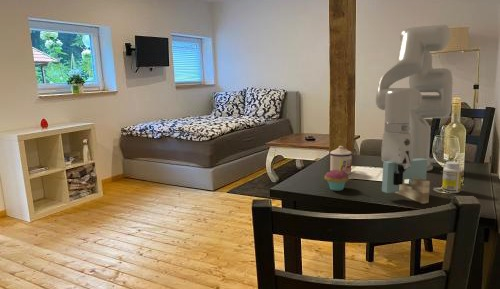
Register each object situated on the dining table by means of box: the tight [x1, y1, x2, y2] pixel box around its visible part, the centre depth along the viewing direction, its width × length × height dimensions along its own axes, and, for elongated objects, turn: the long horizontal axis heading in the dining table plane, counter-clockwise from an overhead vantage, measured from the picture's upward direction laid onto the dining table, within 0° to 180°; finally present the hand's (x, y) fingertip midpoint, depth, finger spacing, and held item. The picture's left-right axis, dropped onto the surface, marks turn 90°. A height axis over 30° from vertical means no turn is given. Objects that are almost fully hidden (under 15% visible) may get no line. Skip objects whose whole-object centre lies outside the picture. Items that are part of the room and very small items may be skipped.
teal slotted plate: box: [381, 158, 428, 194], centre depth 124 cm, size 16×2×10 cm, turn 109°
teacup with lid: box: [329, 145, 353, 176], centre depth 157 cm, size 12×9×12 cm
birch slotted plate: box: [394, 178, 431, 205], centre depth 125 cm, size 16×2×7 cm, turn 19°
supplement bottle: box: [441, 160, 462, 194], centre depth 128 cm, size 6×6×10 cm
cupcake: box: [324, 157, 349, 191], centre depth 135 cm, size 9×8×12 cm
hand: (394, 182), depth 123 cm, fingers closed on teal slotted plate, 2 cm apart
